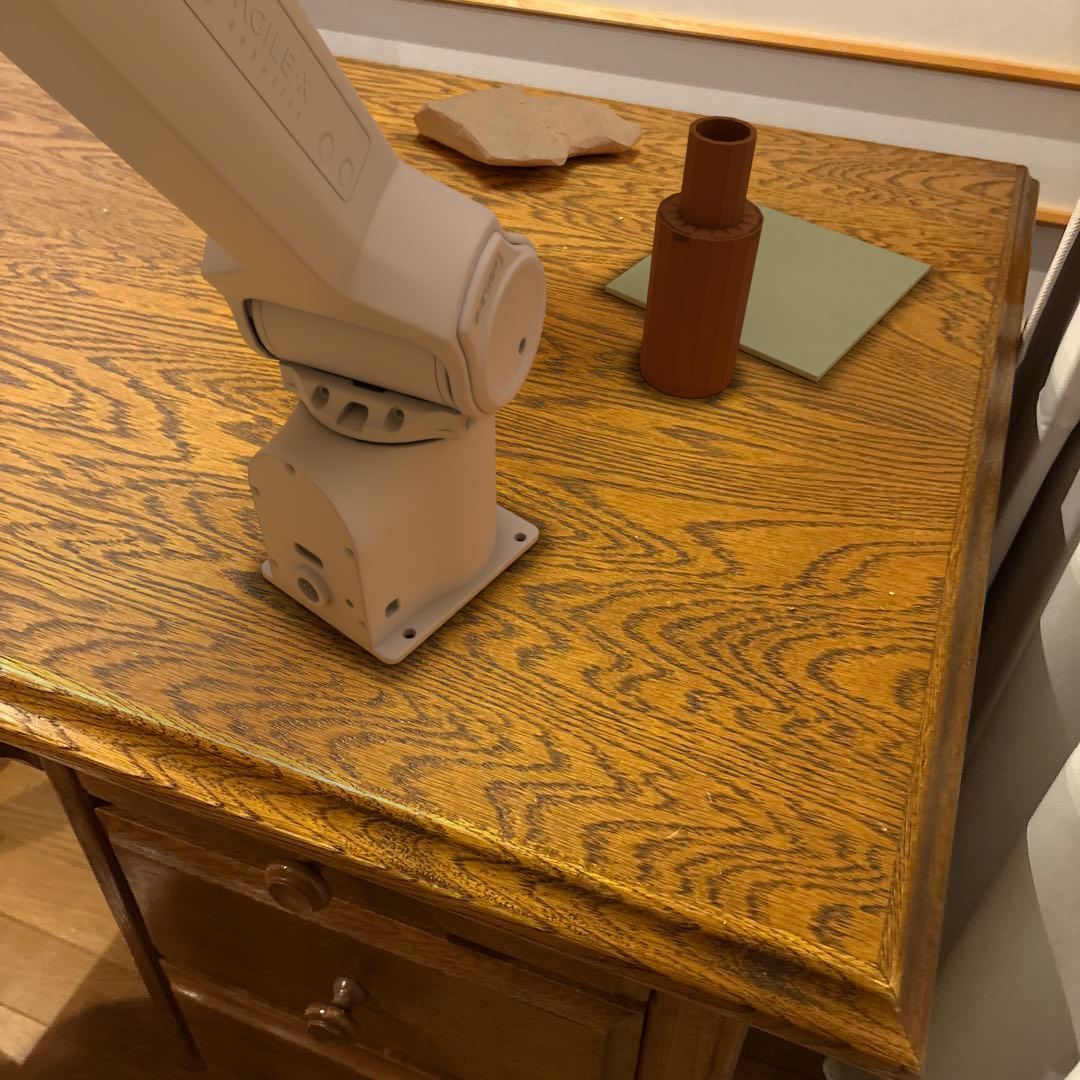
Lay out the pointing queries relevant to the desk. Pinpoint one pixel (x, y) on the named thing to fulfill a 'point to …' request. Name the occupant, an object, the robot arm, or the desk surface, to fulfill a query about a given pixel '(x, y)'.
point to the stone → (524, 127)
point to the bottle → (702, 264)
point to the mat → (806, 293)
